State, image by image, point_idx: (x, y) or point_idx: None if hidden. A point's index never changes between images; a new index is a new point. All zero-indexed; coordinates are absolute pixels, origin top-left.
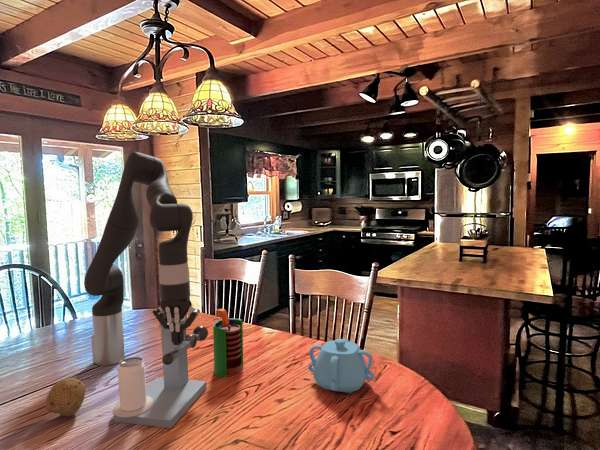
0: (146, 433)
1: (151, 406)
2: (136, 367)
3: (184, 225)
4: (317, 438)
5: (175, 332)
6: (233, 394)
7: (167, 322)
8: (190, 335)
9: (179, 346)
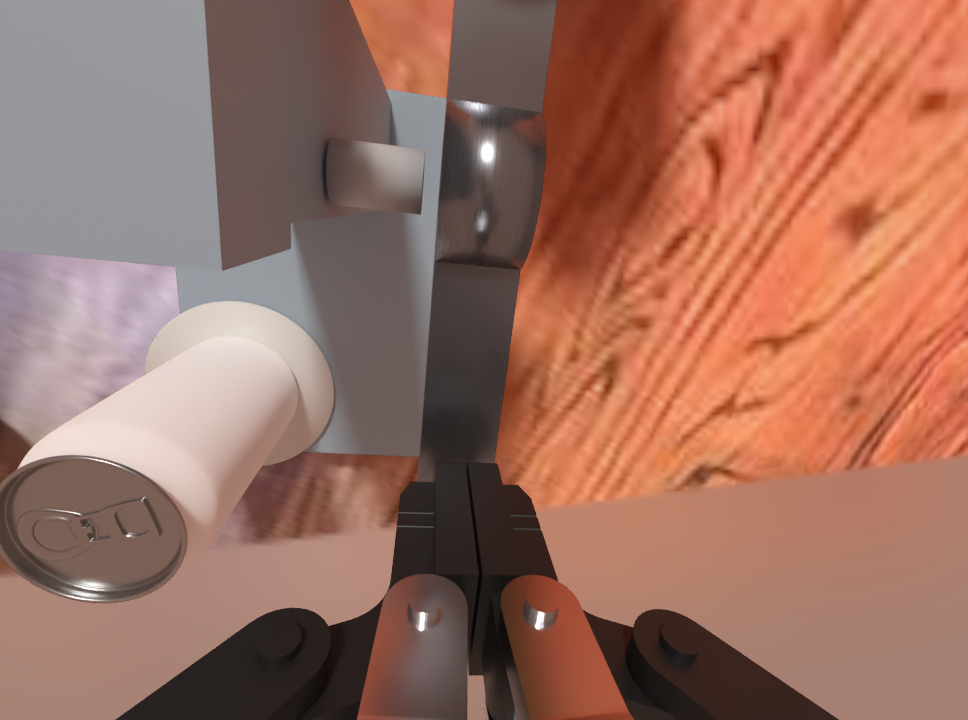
0: (388, 477)
1: (332, 387)
2: (191, 553)
3: None
4: (936, 435)
5: (473, 671)
6: (651, 179)
7: (215, 711)
8: (499, 207)
9: (450, 421)
